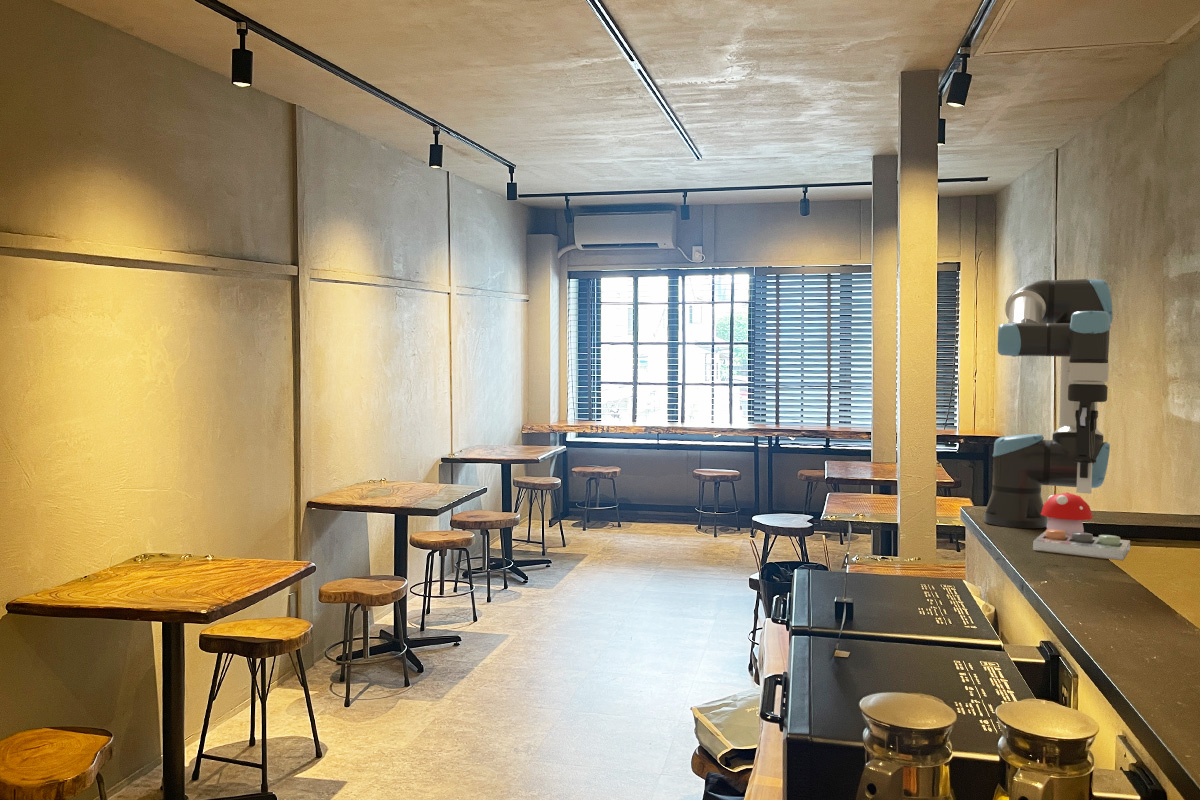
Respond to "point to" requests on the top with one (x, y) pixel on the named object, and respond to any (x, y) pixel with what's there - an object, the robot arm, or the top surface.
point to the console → (1082, 547)
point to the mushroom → (1066, 512)
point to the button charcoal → (1082, 537)
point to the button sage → (1109, 540)
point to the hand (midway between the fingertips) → (1083, 492)
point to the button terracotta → (1055, 534)
